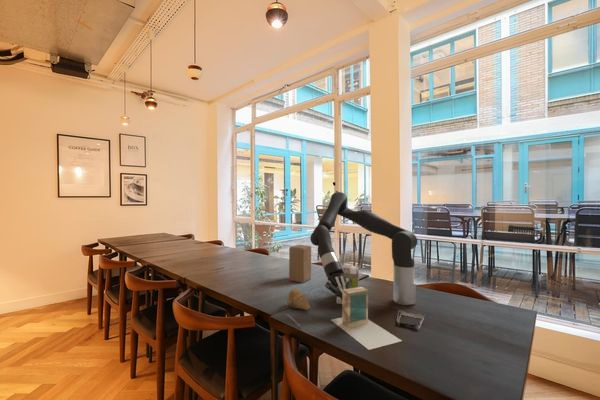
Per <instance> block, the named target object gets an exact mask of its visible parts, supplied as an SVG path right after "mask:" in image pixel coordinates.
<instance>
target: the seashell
mask: <svg viewBox="0 0 600 400" xmlns="http://www.w3.org/2000/svg"><path fill="white" fill-rule="evenodd" d="M287 305H288V306H289V307H291V308H292V309H299V310H305V311H309V310H310V309H311V305H310V303H309V301H308V299H307V297H306V294H305V293H303V292H302V291H301V290H300V289H299V288H292V289H290V291H289V293H288V299H287Z"/></svg>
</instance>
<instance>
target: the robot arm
mask: <svg viewBox="0 0 600 400" xmlns="http://www.w3.org/2000/svg"><path fill="white" fill-rule="evenodd" d="M347 205H348V197H347V194H346V193H344V192H342V191H337V192H334V193H333V194H332V195H331V197H330V200H329V202H328V206H327V208H326V210H325V211H324V214H323V215H322V216H321V219H320V220H319V222H318V224H317V225H316V227H315V228H314V229H313V231H312V233H311V235H310V236H309V237H310V238H309V239H310V242H311V244H312V245H313V246H316V247H317V254H318V256H319V258H320V261H321V265H322V268H323V270H324V273H325V275H326V278H327V282H326V283H325V284H324V287H325V288H327V290H329V291H331V293H332V294H334V295H337V294H339V295H340V297H341V300H342V293H343V290H344V289H350V287H351V283H352V279H348V278H346V276H345V275H344V273H343V269H342V267H341V266H342V265H341V263H340V261H339V260H340V259H339V258H338V255H337V254H336V252H335V250H334V248H333V245H332V237H331V234H330V231H331V230H332V228H333V226H335V223H336V220H337V216H341V217H343V218H345V219H348V220H349V221H351V222H353V223H355V224H356V225H358V226H360V228H361V227H362V228H363V229H365V230H367V231H368V232H370V233H373V234H376V235H380V236H383V237H386V238H388V239H390V240H391V259H392V261H393V278H392V279H393V281H392V282H393V285H392V287H393V288H392V289H393V290H392V291H393V292H392V293H393V294H392V300H393V301H392V302H394V303H395V304H398V305H403V306H410V305H411V306H412V305H416V289H417V288H416V286H417V285H416V283H415V260H414V259H413V256H412V250H413V249H415V248H416V247H417V245H418V238H417V236H416V235H415V234H414V233H413V232H412V231H410V230H407V229H406V228H402V227H399V226H397V225H395V224H393V223H392V222H390V221H388V220H386V219H385V218H383V217H381V216H379V214H378V215H377V214H376V213H374V212H372V211H370V210H367V209H360V210H353V209H351V208H348V207H347ZM345 281H346V284H347V285H345ZM345 286H346V287H345Z"/></svg>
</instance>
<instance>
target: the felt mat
mask: <svg viewBox="0 0 600 400" xmlns="http://www.w3.org/2000/svg"><path fill="white" fill-rule="evenodd" d="M330 321H331V322H333V324H335V325H337V326H338V327H339V328H340V329H342V330H343V331H344V332H345V333H347V334H348V335H349V336H350V337H352V338H353V339H354V340H355V341H357V342H358V343H360V344H361V345H362V346H363V347H365V349H367V350H369V351H370V350H373V349H377V348H381V347H384V346H389V345H393V344H396V343H400V342H403V340H402V339H400V338H398V337H397V336H395V335H394V334H392V333H390V331H388V330H386V329H384V328H383V327H381V326H380V325H378V324H376V323H375V322H373V321H372V320H370V319H369V318H368V323H367V324H363V325H358V326H354V327H349V328H348V327H346V326H345V325H344V324H343V323H342V317H337V318H332V319H330Z"/></svg>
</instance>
